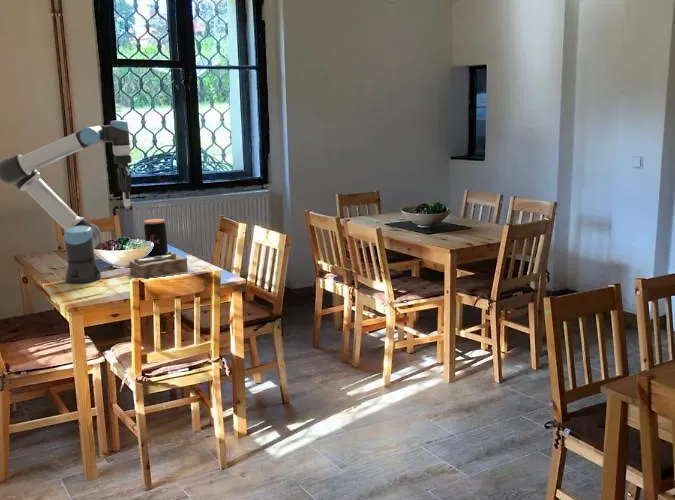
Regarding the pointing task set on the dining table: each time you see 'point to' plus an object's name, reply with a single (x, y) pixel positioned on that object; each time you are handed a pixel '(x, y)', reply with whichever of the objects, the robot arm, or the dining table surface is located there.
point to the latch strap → (155, 258)
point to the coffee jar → (156, 236)
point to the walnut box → (158, 266)
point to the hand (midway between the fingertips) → (127, 205)
